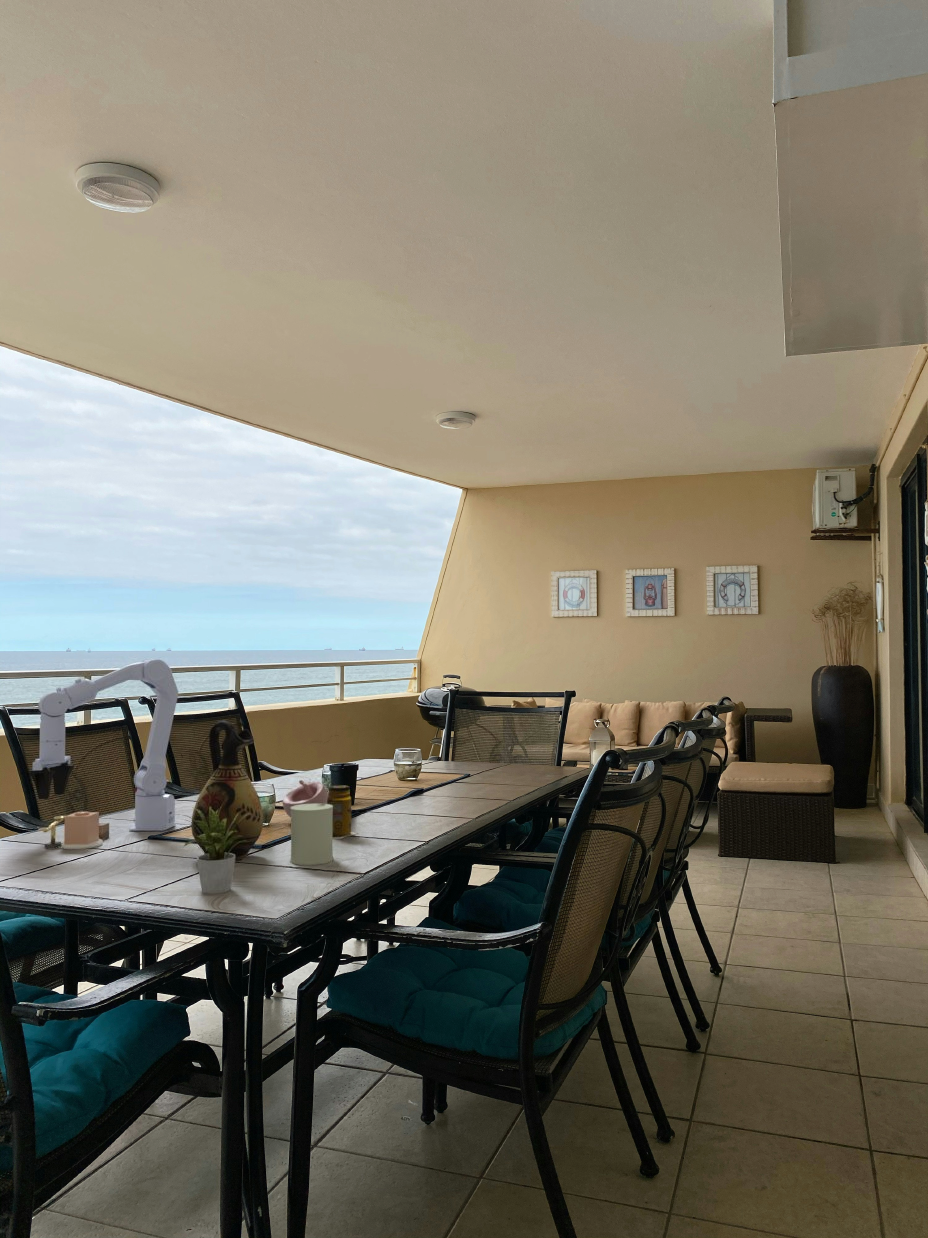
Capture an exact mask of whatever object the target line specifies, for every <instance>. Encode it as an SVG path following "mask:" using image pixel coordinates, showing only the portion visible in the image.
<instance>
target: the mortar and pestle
mask: <svg viewBox="0 0 928 1238" xmlns="http://www.w3.org/2000/svg"><path fill="white" fill-rule="evenodd" d="M298 783H299V784H300V785H298V786H295V788H293V789H291V790H289V791H288V792H287V793H286V794H285V795H284V797H283V799H282V806H283V810H284V811H285V813H286V815H287V816H288V817H289V818H290V819H291V809H290V808H291V807H292V806H295V805H300V804H314V803H320V804H327V798H328V796H329V795H328V791H327V789H326V788H325V785H324V784H323V783H322V782H320V781H308V782H304V781H303V780H302V779H300V780H299V781H298Z"/></svg>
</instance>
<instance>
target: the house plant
mask: <svg viewBox="0 0 928 1238" xmlns="http://www.w3.org/2000/svg"><path fill="white" fill-rule="evenodd" d="M222 805H223V804H222ZM221 807H222V806H221ZM194 809H196V808H194V807H193V810H194ZM220 809H221V808H220ZM196 810H197V811H198V813H199V814H200V817H201V819H202V821H197V822H198V823H199V824H198V823H197V822H196V821H195V820H194V819H193V820H194V821H195V822H196V823H197V824H196V825H198V826H199V827H200V828H201V829H202V831H203V832H204V834H202V835H200V836H197V837H199V838H200V839H202V841H203V842H204V843H203V842H200V841H195V840H190V839H188V838H186V837H185V840H189V841H186V842H185V843H184V845H183V846H182V848H184V847H187V846H188V845H190V844H194V843H197V842H199V843H202V844H203V845H204V846H205V848H206V850H208V853H209V854H204V853H203V854H202V855H199V856H197V857H196V862H197V868H198V875H199V882H200V886H201V892H202V893H204V894H211V895H212V894H221V893H226V892H229V891H230V890H231V888H232V887H231V886H232V881H233V874H234V869H235V862H236V861H235V854H232V853H229V852H230V851H231V849H232V848H233V847H234V846H235V845H236V844H238V843H240V842H243V841H246V840H243V841H240V842H238V843H236V844H235V845H233V846H232V847H231V849H230V850H229V852H228V853H225V852H226V850H227V848H228V847H229V846H230V844H231V843H232V842H233V841H234V840H235V839H237V838H239V837H242V836H240V835H237V836H233V837H231V838H230V839H229V840H228V841H227V842H226V840H227V838H228V836H229V835H230V834H231V833H232V832H234V831H232V830H231V831H230V832H228V831H229V829H230V828H231V826H232V824H233V823H234V821H235V819H236V817H237V815H238V814H239V813H238V814H237V815H236V817H235V818H234V820H233V821H232V823H231V825H230V827H229V828H228V830H227V832H226V834H225V830H226V821H227V818H225V819H223V820H222V821H221V822H220V820H219V812H220V810H219V809H218V810H219V812H218V810H217V811H216V812H214V811H213V810H212V809H211V807H209V823H210V829H209V827H208V824H207V822H206V819H205V817H204V815H203V813H202V812H201V811H200V810H198V809H196ZM217 812H218V815H217ZM250 814H251V813H250ZM173 815H175V816H176V815H177V816H179V813H178V814H176V813H175V814H173ZM247 815H248V814H247ZM183 816H185V817H187V818H189V819H191V820H192V816H189V815H186V814H183ZM245 816H246V815H245ZM245 816H244V817H245ZM185 822H189V823H190V824H191V823H192V821H190V820H187V819H185ZM192 824H193V823H192ZM193 825H194V824H193ZM194 826H195V825H194ZM195 827H196V826H195ZM234 827H235V826H234ZM234 827H233V828H234ZM196 828H197V827H196ZM233 828H232V829H233ZM197 830H198V829H197ZM198 831H199V830H198ZM235 831H236V830H235ZM236 832H237V831H236ZM200 834H201V833H200ZM224 834H225V836H224ZM177 838H179V839H183V837H181V836H179V837H177ZM197 848H198V849H199V850H201V848H200V846H197Z"/></svg>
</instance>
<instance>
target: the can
mask: <svg viewBox="0 0 928 1238" xmlns="http://www.w3.org/2000/svg"><path fill="white" fill-rule="evenodd" d="M290 809H291V818H290V861H289V862H290V863H291V864H293V865H299V866H317V865H323V864H327V863H331V862H332V861H333V860H334V854H333V852H334V851H333V850H334V849H333V848H334V847H333V838H332V817H333V806H332V805H330V804H320V803H314V804H300V805H295V806H292V807H291V808H290Z"/></svg>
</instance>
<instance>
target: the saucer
mask: <svg viewBox="0 0 928 1238" xmlns="http://www.w3.org/2000/svg"><path fill="white" fill-rule="evenodd" d="M103 841H104V840H102V839H99V840H97V841H95V842H92V843H90V844H68V845H64V841H63V842H61V846H60V847H62V848H61V849H63V848H64V849H63V850H84V849H86V850H87V849H92V848H98V847H100V846H102V845H103V843H104V842H103Z"/></svg>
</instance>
